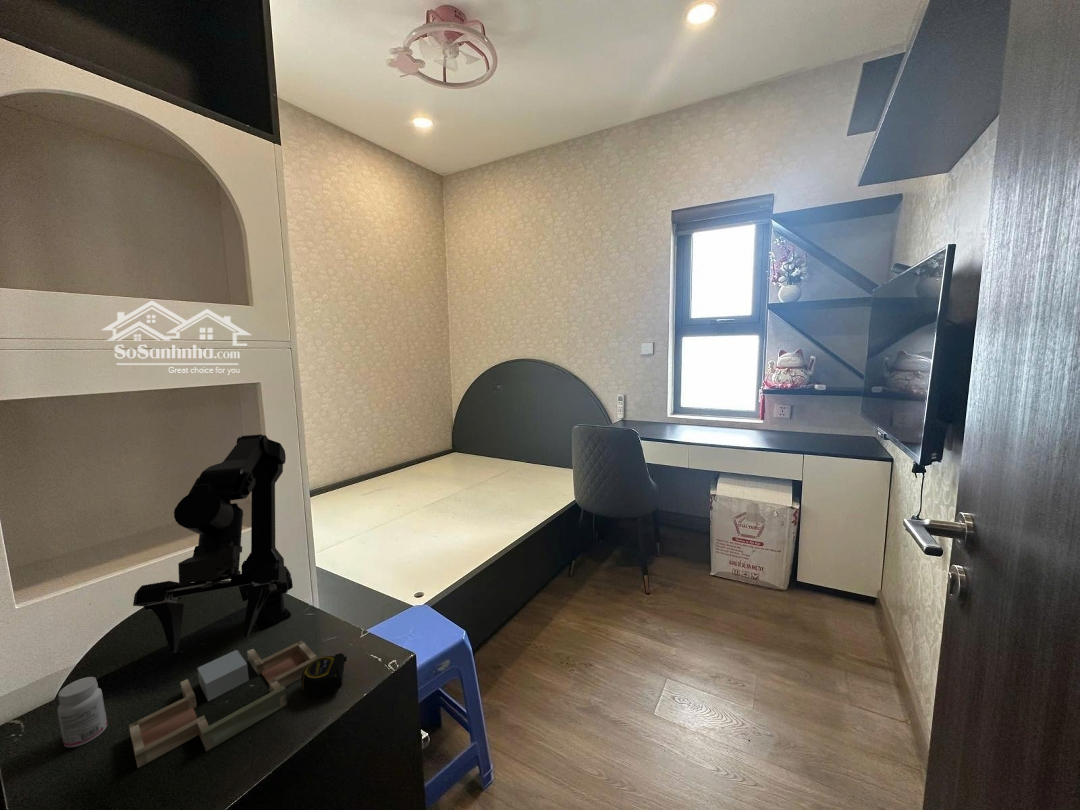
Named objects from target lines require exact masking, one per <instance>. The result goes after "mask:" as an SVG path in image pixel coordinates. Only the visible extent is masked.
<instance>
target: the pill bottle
mask: <svg viewBox="0 0 1080 810" xmlns="http://www.w3.org/2000/svg"><path fill="white" fill-rule="evenodd" d="M102 691H103V690H102V689H101V688H100V687H99V685H98V681H97V678H96V677H94V676H87V677H82V678H80V679H77V680H74V681H73V682H70V683H69V684H67V685H66V686H64V687H63V688H62V689H61V690H59V692H58V694H57V695H58V703H59V705H58V707H57V716H58V717H57V718H58V722H59V727H60V733H61V738H62V743H63V745H64V747H65V748H76V747H80V746H83V745H86V744H87V743H89V742H91V741H93V740H94V739H96V738H97V737H99V736H100V735H101V734H102V733H103V732H104V731H105V730H106V729H107V727H108V719H107V713H106V712H107V711H106V707H105V702H104V697H103V692H102Z"/></svg>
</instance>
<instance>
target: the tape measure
mask: <svg viewBox="0 0 1080 810" xmlns="http://www.w3.org/2000/svg"><path fill="white" fill-rule="evenodd" d="M347 658H348V657H347V656H345V654H344V653H337V654H335V655H326V656H325V655H324V656H321V657H318V659H316V660H314V661H312V662H311V663H310V664H309V665H308V666H307V667H306V668H305V670H304V671H303V674H302V678H301V679H300V681H301V682H300V683H301V689H302V691H303V693H304V694H305V695H307V696H308V697H321V696H325V695H326V694H329V693H332V692H335V691H338V690H340V689H342V686H343V675H344V669H345V663H346V662H347V660H348V659H347Z"/></svg>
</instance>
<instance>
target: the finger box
mask: <svg viewBox="0 0 1080 810" xmlns="http://www.w3.org/2000/svg"><path fill="white" fill-rule="evenodd" d="M246 651H247V652H246V653H247V661H248V663H249V664H250V666H251V667H252V669H253V670H254V671H255V673H256V674H257V676H260V675H262V677H263V678H264V680H265V681H266V682H267V684H268V689H269V693H267V694H265V695H263V696H261V697H260V698H258V699H256V700H254V701H252V702H250V703H248V704H247V705H244V706H243V707H241V708H239V709H238V710H236V711H234V712H232V713H230V714H229V715H227V716H225V717H223V718H221V719H219V720H217V721H216V722H214V723H212V724H210V725H209V723H208V721H207V719H206V716H205V715H202V716H200V717H198V716H197V714H196V711H195V708H198V705H197V700H196V699H197V698H196V694H195V692H194V690H193V688H192V685H191V683H190V681H189V679H188V678H187V679H185V680H183V681H181V682H179V683H180V690H181V694H182V696H183V698H182V699H179V700H177V701H175V702H173V703H171V704H169V705H167V706H164V707H163V708H161V709H159V710H156V711H154V712H153V713H150V714H149V715H146V716H144V717H143V718H140V719H139V720H136V721H134V722H131V723H130V724H129V725H128V730H129V736H130V739H131V745H132V749H133V753H134V758H135V762H136V767H137V769H139V768H141V767H143V766H145V765H146V764H149V763H151V762H152V761H154V760H156V759H158V758H159V757H161V756H163V755H165V754H167V753H168V752H170V751H172V750H174V749H176V748H178V747H179V746H181V745H182V744H185V743H187V742H188V741H190V740H192V739H194V738H196V737H198V736H199V738H200V740H201V743H202V744H203V748H204V750H205V752H208V751H210V750H212V749H213V748H214V747H217V746H219V745H220V744H222V743H224V742H225V741H227V740H228V739H229V740H230V738H232V737H234V736H235V735H238V734H239V733H241V732H242V731H245V730H246V729H247V728H249V727H251V726H253V725H254V724H257V722H259V721H261V720H263V719H265V718H266V717H268V716H270V715H272V714H274V713H276V712H277V711H278V710H280V709H283V708H284V707H285V706H287V705H288V698H287V689H286V687H288V686H290V685H292V684H293V683H295V682H297V681H299V680H301V679H302V674H303V671H304V670H305V668H306V667H307V666H308V665H309V664H310V663H311V662H312V661H314V660H316V659H318V658H319V657H318V656H317V655H316V654H315V653H314V651H312V650H311V648H309V646H308V645H307V644H306V643H305V642H304V641H303V640H300V641H297V642H296V643H293V644H291V645H290V646H287V647H285V648H283V649H281V650H279V651H277V652H275V653H273V654H271V655H269V656H267V657H264V658H263V659H261V657H260V655H258V653H257V652H256V650H255V649H254V648H252V649H249V650H246Z"/></svg>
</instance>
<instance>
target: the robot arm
mask: <svg viewBox="0 0 1080 810" xmlns="http://www.w3.org/2000/svg"><path fill="white" fill-rule="evenodd" d="M285 451H286V450H285V449H284V447H283V445H282V444H281V443H280V442H277V441H274V440H272V439H269V438H268V436H267V435H266V434H265V435H263V434H247V435H241V436H239V437H237V440H236V444H235V446H234V447H233V448H232V449H231V451H229V453H228V455H227V456H226V458H224V460H223V461H222V462H220V463H216V464H213V465H210V466H209V467H207V468H205V469H204V470H202V472H201V473H200V474H199V477H197V478H196V480H195V482H194V484H192V486H191V489H190V490H189V492H188V494H187V495H185V496H184V497H183V498H182V499H181V500H180V501H179V502H178V503H177V505H176V507H175V508H174V510H173V516H174V520H175V522H176V523H177V524H178V525H179V526H181V527H183V528H184V529H187V530H189V531H191V532H193V533H196V534H198V535H199V536H198V545H195V546H194V549H193V554H192V556H191V557H188V558H186V559H184V560H182V561H179V563H177V564H178V582H177V581H172V580H166V581H162V582H155V583H149V584H143V585H141V586H140V587H139V588H138V589H137V591H136V592H135V593H134V597H133V603H132V606H133V607H143V610H144V611H151V612H153V613H154V614H155V615H156V616H157V619H159V622H160V623H161V626H162V629H163V633H164V636H165V638H166V641H167V645H168V648H169V652H170V654H175V653H177V652H178V649H179V645H180V640H181V633H182V632H181V631H182V625H183V624H182V623H183V615H184V614H183V613H184V608H185V607H184V606H185V604H184V603H179V601H180V600H181V599H182V598H183V597H187V596H194V595H198V594H204V593H209V592H214V591H220V590H226V589H231V588H237V587H238V589H239V592H240V597H241V599H242V602H247V603H246V604H247V605H246V611H245V618H244V622H243V623H244V624H243V638H248V637H249V636H250V634H251V632H252V630H253V627H254V626H255V628H258V629H260V630H263V629H265V628H267V627H269V626H271V624H272V625H273V624H276V623H278V621H279V622H281V621H282V620H285V619H287V618H290V617H291V616H292V613H291V612H290V610H288V609H287V607H286V606H285V598H284V597H285V596H284V594H287V593H288V591H290V590H291V589H293V579H292V574H291V572H290V570H289V569H288V567H287V565H285V559H284V557H283V556H282V554H281V553H280V552H279V550H278V549H277V548H276V483H277V481H278V480H279V478H280V477H281V475H282V474H283V471H284V465H285V464H286V459H287V458H286V452H285ZM250 493H251V508H250V509H251V516H250V517H251V524H250V525H251V526H250V527H251V530H250V535H251V536H250V537H251V538H250V540H251V541H250V543H251V546H250V547H251V548H250V552H249V555H248V556H247V558H246V559H245V560H244V561H243V562H242V564H241V570H240V562H241V561H240V560H241V554H242V553H243V546H242V533H243V532H242V531H243V530H242V529H243V519H244V510H243V508H241V507H240V506H239V504H238V503H237V502H234V503H231V501H236V500H237V501H238V500H243V499H244V500H245V499H247V498H248V496H249V495H250ZM228 580H230V581H228ZM222 581H226V582H222ZM227 581H228V582H227ZM264 627H265V628H264ZM262 628H263V629H262ZM258 629H257V630H258Z"/></svg>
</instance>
